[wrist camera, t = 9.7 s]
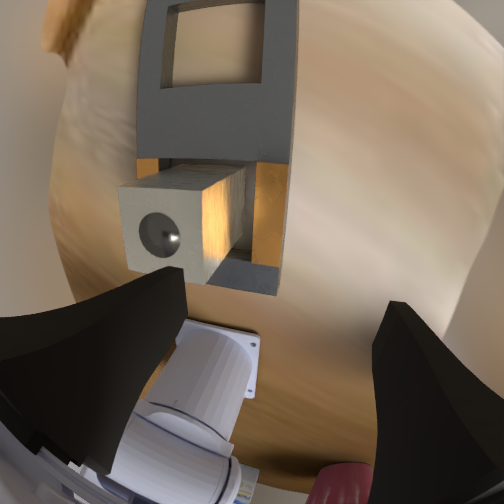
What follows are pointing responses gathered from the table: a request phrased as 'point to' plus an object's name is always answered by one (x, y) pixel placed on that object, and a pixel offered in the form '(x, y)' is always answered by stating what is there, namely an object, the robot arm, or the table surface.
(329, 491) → the plant pot
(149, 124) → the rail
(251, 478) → the medicine box
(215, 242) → the grey rectangular block
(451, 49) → the table surface
